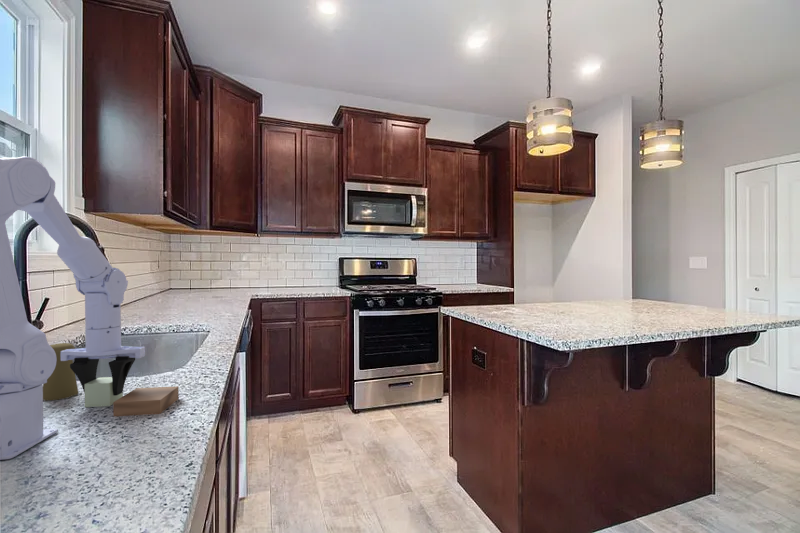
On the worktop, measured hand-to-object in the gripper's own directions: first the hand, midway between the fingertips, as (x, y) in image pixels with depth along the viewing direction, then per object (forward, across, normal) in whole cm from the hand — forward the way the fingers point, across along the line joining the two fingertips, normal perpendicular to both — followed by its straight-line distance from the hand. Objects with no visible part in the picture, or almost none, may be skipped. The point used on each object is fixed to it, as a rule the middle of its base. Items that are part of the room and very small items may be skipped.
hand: (104, 394), depth 79 cm
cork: (+2, +12, -6) cm, 14 cm away
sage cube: (+2, 0, 0) cm, 2 cm away
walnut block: (+2, -10, +4) cm, 11 cm away
